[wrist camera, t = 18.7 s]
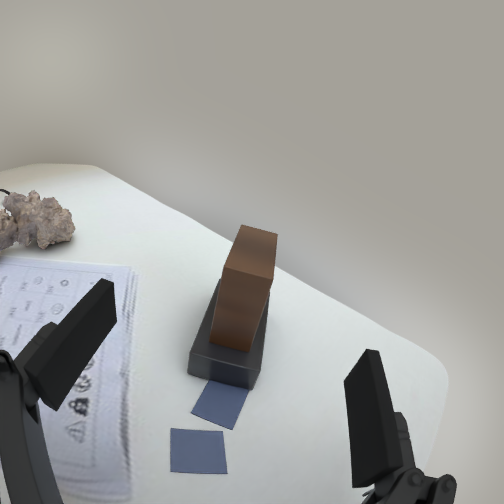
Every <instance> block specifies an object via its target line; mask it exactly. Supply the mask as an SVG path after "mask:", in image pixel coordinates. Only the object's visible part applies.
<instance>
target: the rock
mask: <svg viewBox="0 0 504 504" xmlns="http://www.w3.org/2000/svg"><path fill="white" fill-rule="evenodd" d="M3 207H5V209H4V210H3V209H1V210H0V251H2V250H3V249H5V248H7V247H10V246H12V245H13V243H14V242H16V241H17V242H19V244H25V245H26V246H28V244H29V243H30V242H31V240H32V239H37V242H38V246H39V247H41V248H42V249H46V247H47V245H49V243H51V244H55V241H57V242H61V241H70V238H71V237H72V233H73V232H74V230H75V226H74V223H73V222H72V219H71V217H72V215H71V213H70V212H69V210H67V209H62V207H61V206H60V205H59V204H58V201H57V200H56V199H55V198H54V197H52V198H45V197H44V199H43V200H42V201H41V200H40V196H39V194H38V193H37V192H35V190H34V191H31V192H30V193H29V196H27V197H26V196H24V195H22V194H17V193H15V192H14V193H12V192H11V193H10V195H9V196H5V198H4V202H3ZM6 209H7V210H8V211H10V212H11V216H9V215H8V213H6Z"/></svg>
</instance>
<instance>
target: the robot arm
mask: <svg viewBox="0 0 504 504" xmlns="http://www.w3.org/2000/svg"><path fill="white" fill-rule="evenodd" d="M116 322H117V317H116V306H115V294H114V282H111V281H108V280H106V279H103V278H101V279H100V280H99V281H98V282H97V283H96V284H95V285H94V286H93V288H92V289H91V290H90V291H89V292H88V293H87V294H86V295H85V296H84V297H83V298H82V299H81V300H80V301H79V302H78V303H77V304H76V306H75V307H74V308H73V309H72V310H71V311H70V312H69V313H68V314H67V315H66V317H65V318H64V319H63V320H62V321H61V322H60V323H59V324H58V325H57V324H55V323H53V322H50V323H48V324H47V325H45V326H43V327H42V328H41V329H40V330H39V331H38V332H37V334H36V335H35V336H34V337H33V338H32V339H31V341H30V342H29V343H28V344H27V345H26V346H25V347H24V349H23V350H22V351H21V352H20V353H19V355H18V356H17V357H16V358H15V360H14V361H13V359H12V357H11V356H10V354H9V353H8V352H7V351H5V350H0V458H1V464H2V469H3V473H4V478H5V482H6V486H7V490H8V494H9V498H10V501H11V504H64V503H63V501H62V498H61V495H60V492H59V489H58V486H57V483H56V480H55V477H54V474H53V470H52V467H51V463H50V459H49V456H48V452H47V447H46V443H45V438H44V434H43V429H42V423H41V417H40V411H39V405H38V402H37V401H38V400H39V398H41V399H42V401H43V403H44V404H46V405H47V406H49V407H50V408H52V409H53V410H55V411H58V409H59V407H60V406H61V404H62V402H63V401H64V399H65V398H66V396H67V394H68V393H69V391H70V390H71V388H72V387H73V385H74V383H75V382H76V380H77V379H78V377H79V376H80V374H81V373H82V371H83V370H84V368H85V367H86V365H87V364H88V362H89V361H90V359H91V358H92V356H93V355H94V354H95V352H96V351H97V349H98V348H99V346H100V345H101V343H102V342H103V341H104V339H105V338H106V336H107V335H108V334H109V332H110V331H111V329H112V328H113V327H114V325H115V324H116ZM344 388H345V397H346V406H347V416H348V426H349V438H350V451H351V468H352V488H361V487H368V486H370V485H372V484H374V485H375V488H374V489H372V490H370V491H368V492H366V493H364V494H363V495H362V496H363V497H364V496H366V495H368V494H369V495H368V496H367V497H366V498H365V500H364V501H363V502H362V503H361V504H453V503H454V498H455V493H456V488H457V483H456V480H455V478H454V477H453V476H451V475H449V474H446V475H443V476H441V477H440V478H433V477H428V476H425V475H424V473H423V472H422V471H421V470H420V469H418V468H416V466H415V462H414V456H413V451H412V446H411V441H410V439H409V438H410V436H409V432H408V426H407V422H406V420H405V418H404V416H403V415H402V413H401V412H394V410H393V405H392V401H391V397H390V392H389V388H388V384H387V380H386V376H385V372H384V368H383V365H382V361H381V357H380V354H379V351H376V350H370V349H366V350H365V352H364V353H363V355H362V356H361V357H360V359H359V360H358V362H357V363H356V365H355V366H354V368H353V369H352V370H351V372H350V373H349V374H348V376H347V377H346V379H345V380H344ZM0 504H1V500H0Z"/></svg>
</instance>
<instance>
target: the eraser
mask: <svg viewBox="0 0 504 504" xmlns="http://www.w3.org/2000/svg"><path fill="white" fill-rule="evenodd" d="M276 245H277V234H275V233H272V232H268V231H264V230H261V229H257V228H253V227H249V226H245V225H241V227H240V229H239V232H238V234H237V237H236V239H235V241H234V243H233V246H232V248H231V250H230V253H229V255H228V257H227V260H226V262H225V265H224V267H223V272H222V277H221V279H219V281H218V284H217V286H216V288H215V291H214V293H213V296H212V298H211V301H210V303H209V306H208V308H207V311H206V313H205V316H204V318H203V321H202V323H201V325H200V328H199V330H198V333H197V336H196V338H195V341H194V343H193V346H192V348H191V351H190V354H189V362H188V371H187V373H188V374H191V375H194V376H198V377H201V378H205V379H208V380H212V381H216V382H220V383H224V384H228V385H232V386H236V387H240V388H244V389H249V390H253V388H254V385H255V383H256V381H257V378H258V376H259V373H260V371H261V363H262V355H263V347H264V339H265V331H266V323H267V314H268V306H269V297H270V292H269V291H270V288H271V285H272V282H273V277H274V267H275V257H276Z"/></svg>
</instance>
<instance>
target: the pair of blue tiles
mask: <svg viewBox="0 0 504 504" xmlns="http://www.w3.org/2000/svg"><path fill="white" fill-rule="evenodd" d="M248 392H249V389H244V388H240V387H236V386H232V385H228V384H224V383H220V382H216V381H212V380H209V381H208V383H207V385H206V387H205V389H204V390H203V392H202V394H201V396H200V398H199V399H198V401H197V403H196V405H195V406H194V408H193V410H192V412H191V413H192V414H195V415H197V416H199V417H201V418H204V419H206V420H208V421H211V422H213V423H216V424H218V425H221V426H223V427H226V428H228V429H231V430H233V427H234V425H235V423H236V420H237V418H238V416H239V413H240V411H241V409H242V406H243V404H244V401H245V399H246V397H247V394H248ZM171 472H183V473H206V474H227V465H226V457H225V448H224V438H223V431H201V430H185V429H174V428H171Z"/></svg>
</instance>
